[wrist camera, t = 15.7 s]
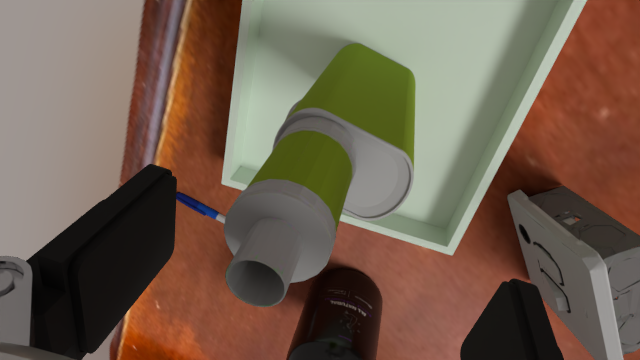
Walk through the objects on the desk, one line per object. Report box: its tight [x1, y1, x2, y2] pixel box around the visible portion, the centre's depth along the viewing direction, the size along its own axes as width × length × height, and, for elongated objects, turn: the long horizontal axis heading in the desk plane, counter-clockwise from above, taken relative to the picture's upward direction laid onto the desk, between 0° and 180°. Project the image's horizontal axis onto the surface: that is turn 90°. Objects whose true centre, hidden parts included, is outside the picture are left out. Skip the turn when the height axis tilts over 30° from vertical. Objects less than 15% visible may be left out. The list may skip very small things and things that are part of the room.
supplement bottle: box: [286, 269, 382, 360], centre depth 33 cm, size 7×7×12 cm
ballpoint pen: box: [176, 192, 226, 223], centre depth 37 cm, size 10×1×1 cm, turn 65°
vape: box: [224, 43, 416, 307], centre depth 19 cm, size 4×6×20 cm, turn 65°
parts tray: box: [222, 0, 587, 255], centre depth 27 cm, size 20×18×3 cm
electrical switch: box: [507, 186, 640, 360], centre depth 27 cm, size 9×5×9 cm, turn 24°
